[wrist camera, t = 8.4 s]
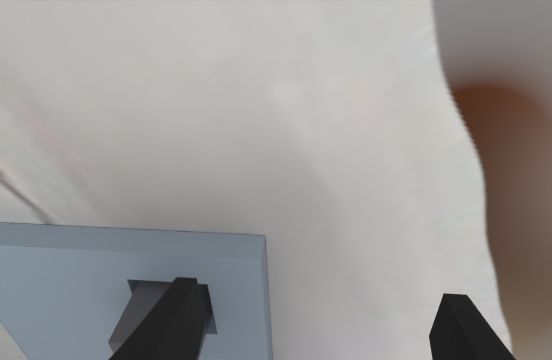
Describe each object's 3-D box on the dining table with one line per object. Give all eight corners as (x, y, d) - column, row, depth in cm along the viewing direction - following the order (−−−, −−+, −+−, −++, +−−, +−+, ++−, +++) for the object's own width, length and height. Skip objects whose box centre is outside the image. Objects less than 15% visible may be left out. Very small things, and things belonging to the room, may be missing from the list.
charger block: (215, 301, 27) (191, 386, 22) (162, 298, 27) (126, 380, 22) (207, 263, 25) (179, 347, 20) (149, 260, 25) (107, 342, 20)
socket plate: (272, 361, 30) (270, 386, 29) (46, 342, 32) (32, 364, 31) (265, 235, 22) (260, 259, 21) (-34, 220, 25) (-59, 241, 23)
